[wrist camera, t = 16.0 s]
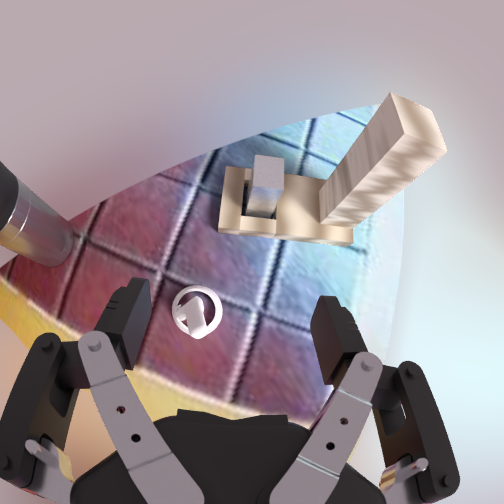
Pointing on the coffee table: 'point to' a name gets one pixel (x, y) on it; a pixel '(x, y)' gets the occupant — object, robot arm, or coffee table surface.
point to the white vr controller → (196, 312)
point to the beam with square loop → (343, 180)
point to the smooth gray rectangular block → (264, 186)
